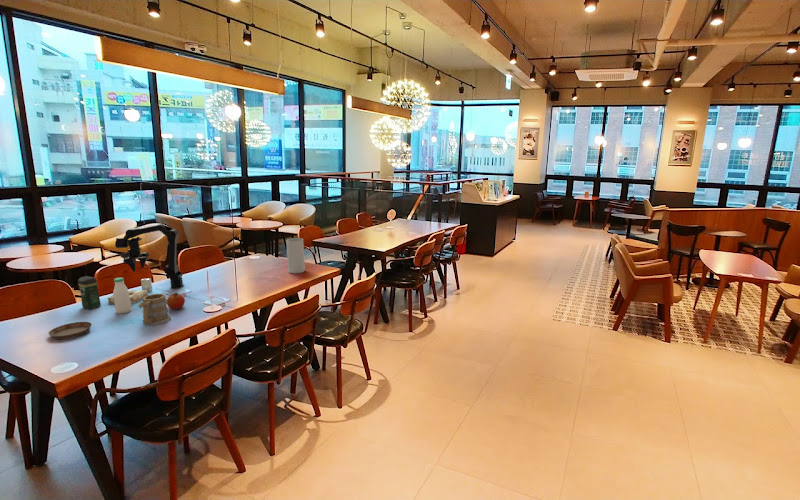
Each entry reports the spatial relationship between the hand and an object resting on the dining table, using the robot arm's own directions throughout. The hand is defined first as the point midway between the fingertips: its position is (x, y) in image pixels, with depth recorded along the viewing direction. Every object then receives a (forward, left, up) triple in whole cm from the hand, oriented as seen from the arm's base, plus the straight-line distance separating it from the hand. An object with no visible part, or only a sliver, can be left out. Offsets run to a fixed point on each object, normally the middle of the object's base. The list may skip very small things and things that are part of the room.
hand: (138, 270), depth 287 cm
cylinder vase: (-96, -40, -13) cm, 105 cm away
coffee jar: (+9, +35, -13) cm, 38 cm away
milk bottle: (-15, +43, -13) cm, 47 cm away
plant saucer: (-7, +73, -14) cm, 75 cm away
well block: (-5, +22, -13) cm, 26 cm away
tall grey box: (-7, +5, -13) cm, 16 cm away
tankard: (-42, +61, -13) cm, 75 cm away
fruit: (-43, +38, -13) cm, 59 cm away
